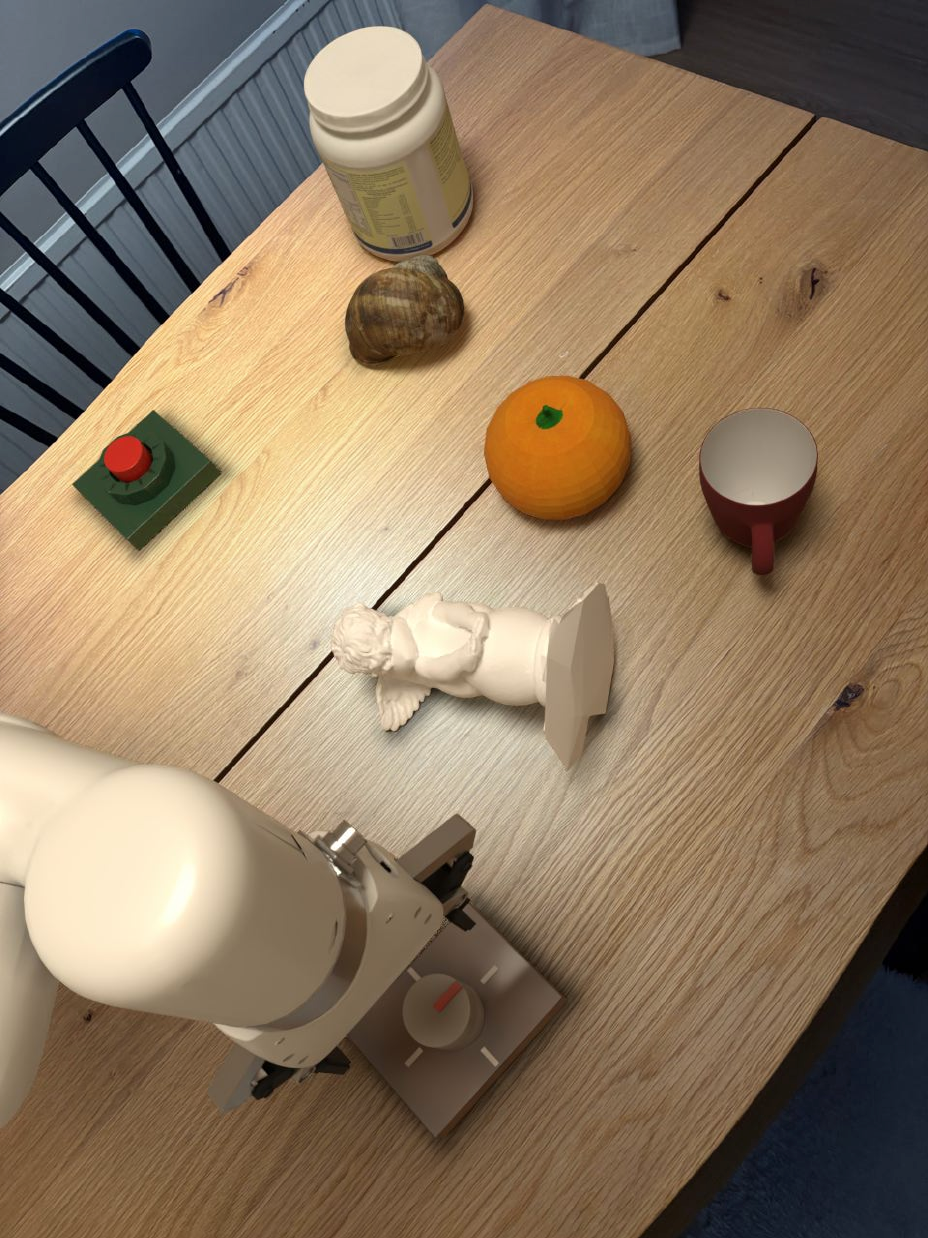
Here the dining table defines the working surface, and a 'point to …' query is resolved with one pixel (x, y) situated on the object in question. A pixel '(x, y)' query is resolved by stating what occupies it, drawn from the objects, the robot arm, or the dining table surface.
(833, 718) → the dining table surface
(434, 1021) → the dial
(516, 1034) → the dial panel
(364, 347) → the seashell
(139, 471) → the button
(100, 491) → the box
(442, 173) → the supplement tub
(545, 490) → the fruit
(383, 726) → the angel figurine
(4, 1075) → the robot arm
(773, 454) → the mug
